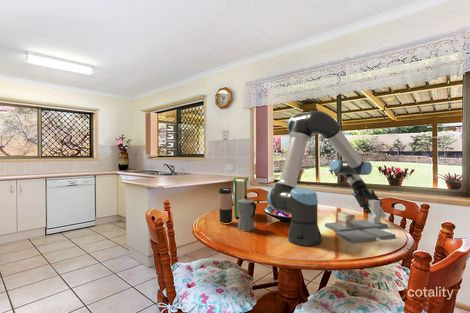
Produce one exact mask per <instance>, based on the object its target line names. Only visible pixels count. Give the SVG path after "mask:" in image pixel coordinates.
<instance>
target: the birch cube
mask: <svg viewBox="0 0 470 313" xmlns="http://www.w3.org/2000/svg"><path fill="white" fill-rule="evenodd" d="M355 220H356V214H355V213H351V212H348V211H344V212H337V222H338V224H339V225H342V226H344V227H351V226H355Z"/></svg>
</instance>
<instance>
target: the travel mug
mask: <svg viewBox="0 0 470 313" xmlns="http://www.w3.org/2000/svg"><path fill="white" fill-rule="evenodd" d="M218 195H219V196H218V198H219V199H218V204H219V206H218V208H219V209H218V210H219V223H220V222H223V223H230V222H232V223H233V189H232V188H229V187H224V188H223V187H222V188H219V190H218Z"/></svg>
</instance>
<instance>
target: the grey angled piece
mask: <svg viewBox="0 0 470 313" xmlns="http://www.w3.org/2000/svg"><path fill="white" fill-rule="evenodd" d="M380 201H381V200H380ZM380 201H379V200H369V199H368V200H367V203H368V206H370V207H371V208H372V210H373V211H374V213H375V214H376V216H377V217H375V218H374V219H373V218H372V217H371V215H370V214H369V213H368V212H367V213H368V216H367V218H368V219H367V218H366V219H365V218H364V219H357V220H356V219H355V226H351V227H344V226H342V225H339V224H338V221H337V222H326V223H324V226H325V228H328V229H331V230H333V231H335V232H344V231H353V230H360V231H363V229H371V228H378V229H383V228H384V229H387V228H389V224H387V223H384V222H381V215H380Z"/></svg>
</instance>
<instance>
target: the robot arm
mask: <svg viewBox="0 0 470 313" xmlns="http://www.w3.org/2000/svg"><path fill="white" fill-rule="evenodd" d="M286 127H287V132H288V133H289V134H288V136H289V138H290V140H289V141H290V142H289V143H288V144H289V146H288V148H287V152H286V156H285V158H284V159H285V160H284V163H283V166H282V170H281V174H280V178H279V181H277V182H275V185H274V187H273V188H271V189H270V190H269V191H268V193H267V197H266V199H267V203H268V205H269V207H270V209H272V210H274V211H277V212H279V213H282V214H283V213H284V214H287V215H290V216H291V217H290V218H291V220H290V222H291V223H290V226H289V229H288V233H287V241H288V242H290V243H292V244H294V245H297V246H306V247H309V246H311V247H313V246H318V245H320V244H322V241H323V236H322V233H321V231H320V228H319V223H318V202H319V200H318V195H317V193H316V192H315V191H314V190H312V189H309V188H304V187H298V186H297V182H298V178H299V175H300V171H301V168H302V165H303V164H302V163H303V160H304V155H305V152H306V147H307V143H308V142H310V141H311V140H312V136H313V135H315V134H316V135H321V136H322V137H323V138H324V139H327V140H328V141H329V142H330V144H331V145H332V147H333V148H334V149H335V150H336V151H337V153H338V154H339V155H340V156H341V158H342V159H343V160H340V159H332V160H331V162H330V163H329V169H330V171H332V172H334V173H335V174H338V175H341V176H344V178H345V179H346V181H347V182H348V184H349V186H350V187H351V189H352V191H353V192H351V193H352V195H353V197H354V198H355V200H356V201H357V203H358V205H359V207H360V208H363V210H366V212H367V213H369V214H370V215H371V217H372V218H373V219H374V218H375V217H377V216H376V214H375V213H374V211H373V210H372V208H371V207H370V206H368V200H379V201H380V218H382V219H384V218H385V217H386V216H387V214H386V212H385V211H384V208H383V207H382V205H383V202H382V200H381V199H380V198H379V197H378V195H377V194H376V193H375V191H374V189H371V190H370V189H368V188H367V184H366V182H365V181H364V180H363V178H362V177H361V176H369V175H370V174H371V173H372V170H373V165H372V163H371V162H370V161H364V160H363V159H362V158H361V156H360V155H359V153H358V152H357V151H356V150H355V148H354V147H353V145H352V144H351V142H350V141H349V140H348V138H347V137H346V135H345V134H344V133H343V131H341V129H342V127H341V125H340V124H339V122H338V121H337V120H336V119H335V118H334V117H332V116H331V115H330V114H328V113H326V112H324V111H322V110H311V111H307V112H303V113H302V112H301V113H297V114H294V115H292V116H291V117H290V118H289V120H288V121H287V125H286ZM367 199H368V200H367Z"/></svg>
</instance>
